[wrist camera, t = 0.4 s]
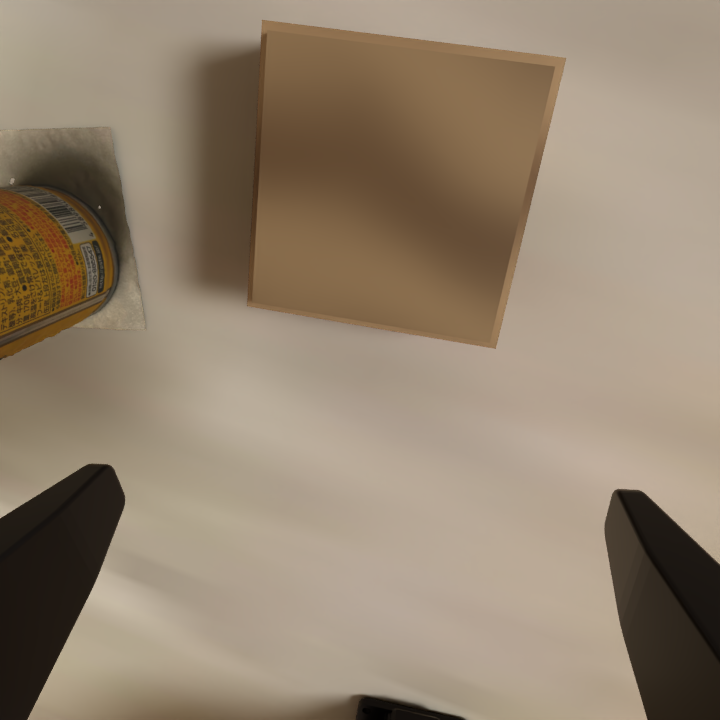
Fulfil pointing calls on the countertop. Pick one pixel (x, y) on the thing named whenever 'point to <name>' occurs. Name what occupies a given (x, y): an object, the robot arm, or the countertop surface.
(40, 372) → the countertop surface
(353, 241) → the base block
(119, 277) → the condiment
